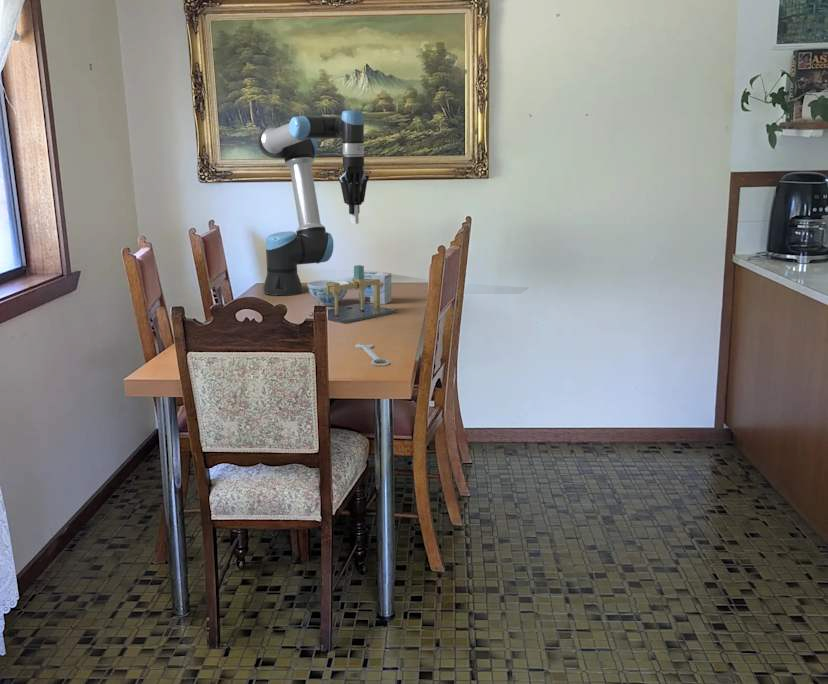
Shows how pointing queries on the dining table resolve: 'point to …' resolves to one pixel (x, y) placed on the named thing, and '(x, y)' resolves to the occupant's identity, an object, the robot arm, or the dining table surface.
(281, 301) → the dining table surface
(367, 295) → the light bulb box
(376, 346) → the dining table surface
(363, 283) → the sliding head
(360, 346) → the wrench
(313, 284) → the chinaware
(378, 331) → the dining table surface
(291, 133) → the robot arm
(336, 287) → the divider frame
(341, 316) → the flange plate
